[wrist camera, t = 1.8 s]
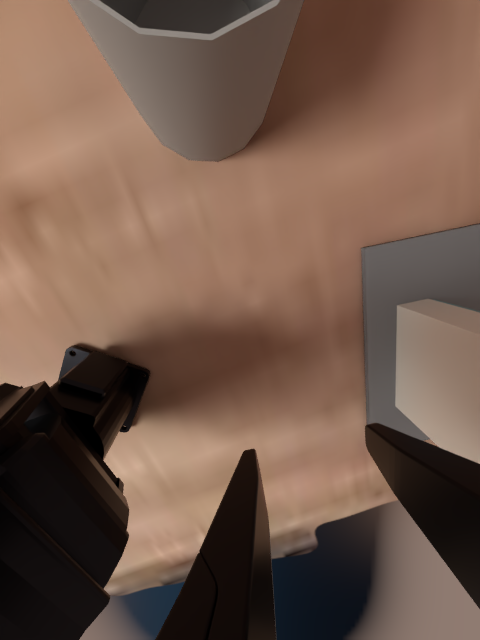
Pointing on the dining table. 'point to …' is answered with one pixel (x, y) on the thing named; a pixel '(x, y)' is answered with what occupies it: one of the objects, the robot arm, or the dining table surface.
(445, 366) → the cream flat block
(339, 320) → the dining table surface
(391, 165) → the dining table surface
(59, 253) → the dining table surface
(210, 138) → the cup
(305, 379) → the dining table surface
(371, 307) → the mat
